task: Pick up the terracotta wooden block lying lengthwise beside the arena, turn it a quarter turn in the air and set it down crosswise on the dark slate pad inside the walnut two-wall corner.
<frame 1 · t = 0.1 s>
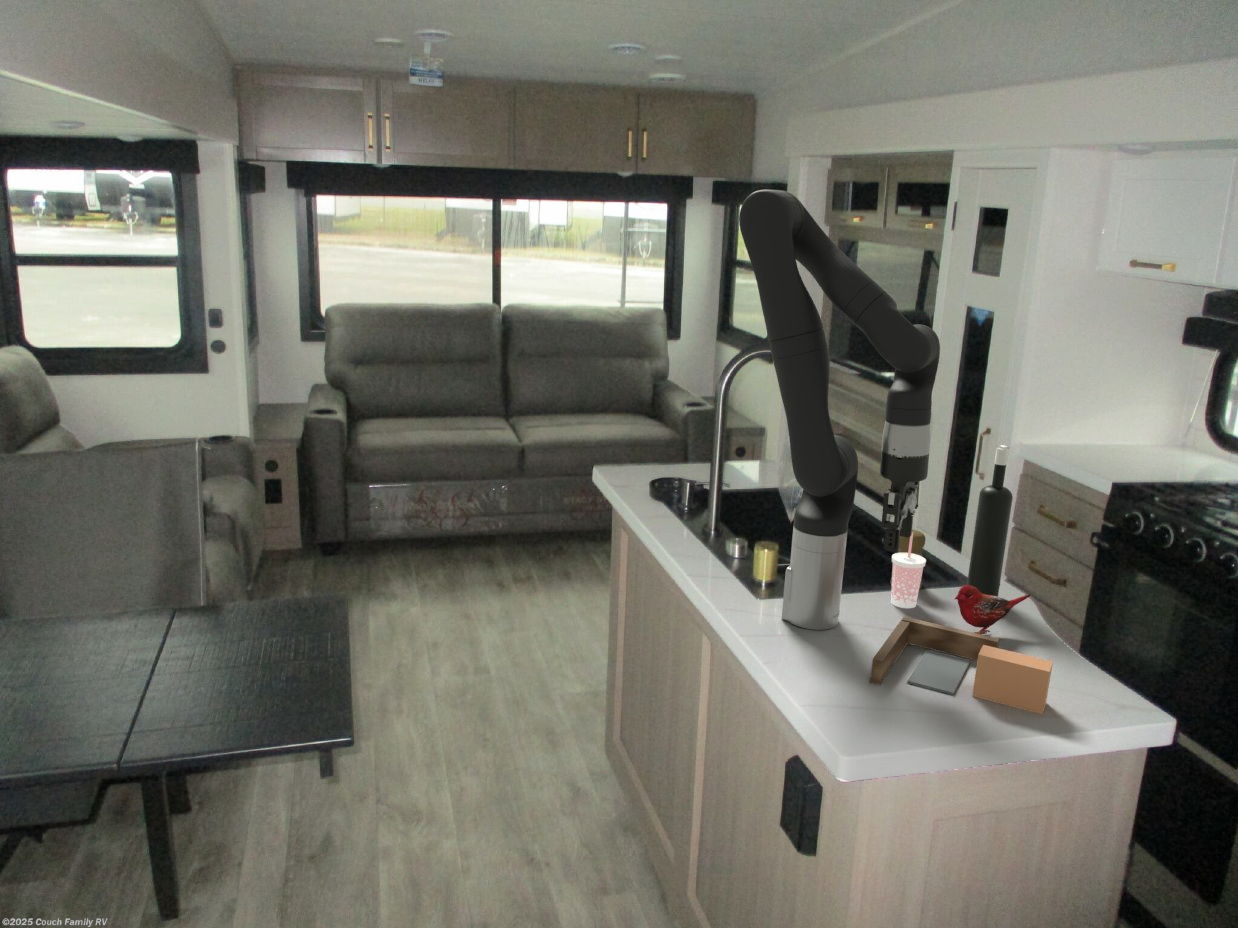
hand: (898, 543, 164), 17 cm above the worktop, tool pointing down, fingers open, 8 cm apart
beverage cup: (903, 604, 183), on the worktop
wine bottle: (981, 599, 187), on the worktop
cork: (905, 585, 193), on the worktop
terracotta block: (1008, 699, 149), on the worktop
decorative bird figurine: (987, 634, 172), on the worktop
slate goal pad: (939, 672, 157), on the worktop
walnut corner: (939, 672, 157), on the worktop
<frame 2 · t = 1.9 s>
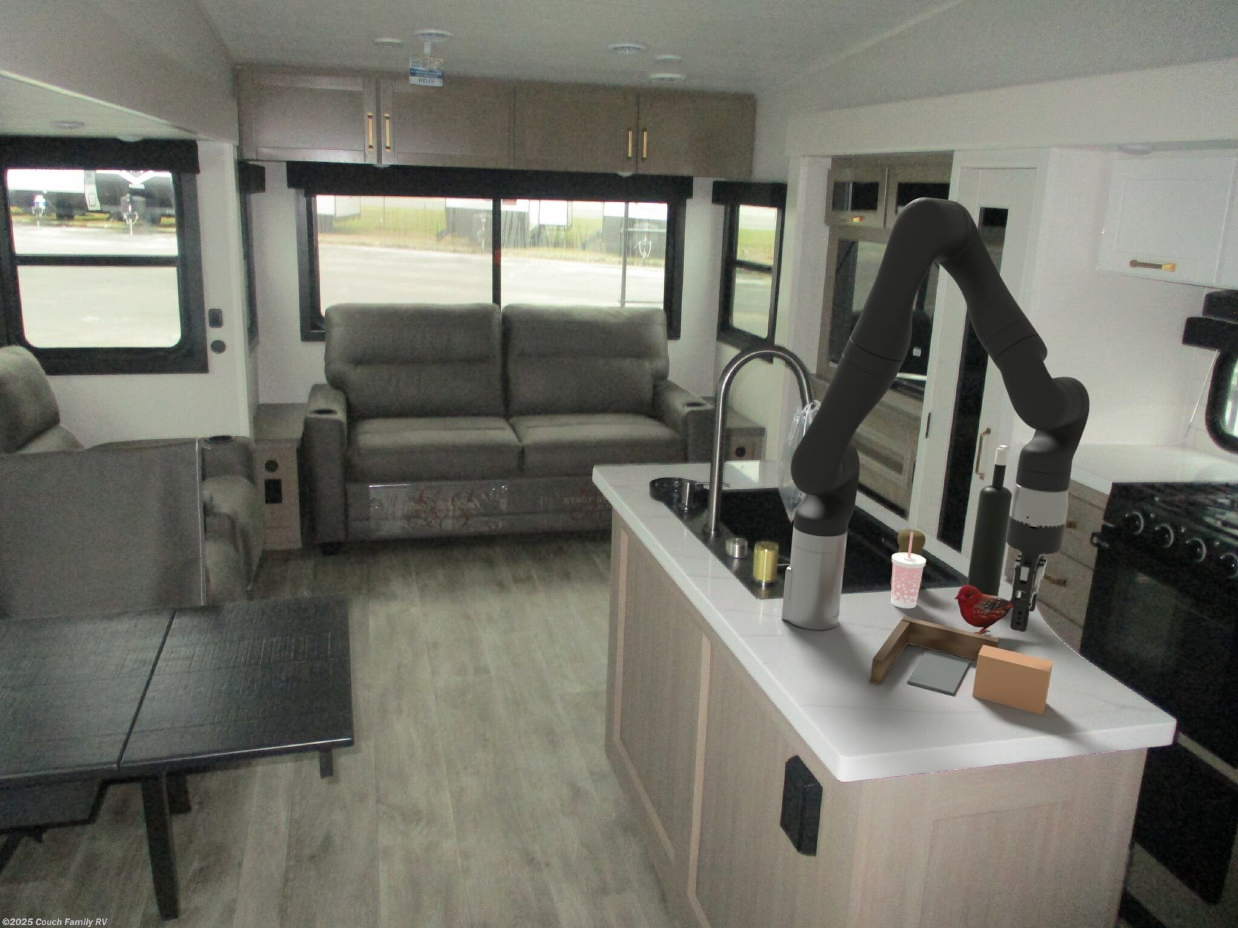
hand: (1022, 619, 145), 13 cm above the worktop, tool pointing down, fingers open, 8 cm apart
nothing on the worktop moved.
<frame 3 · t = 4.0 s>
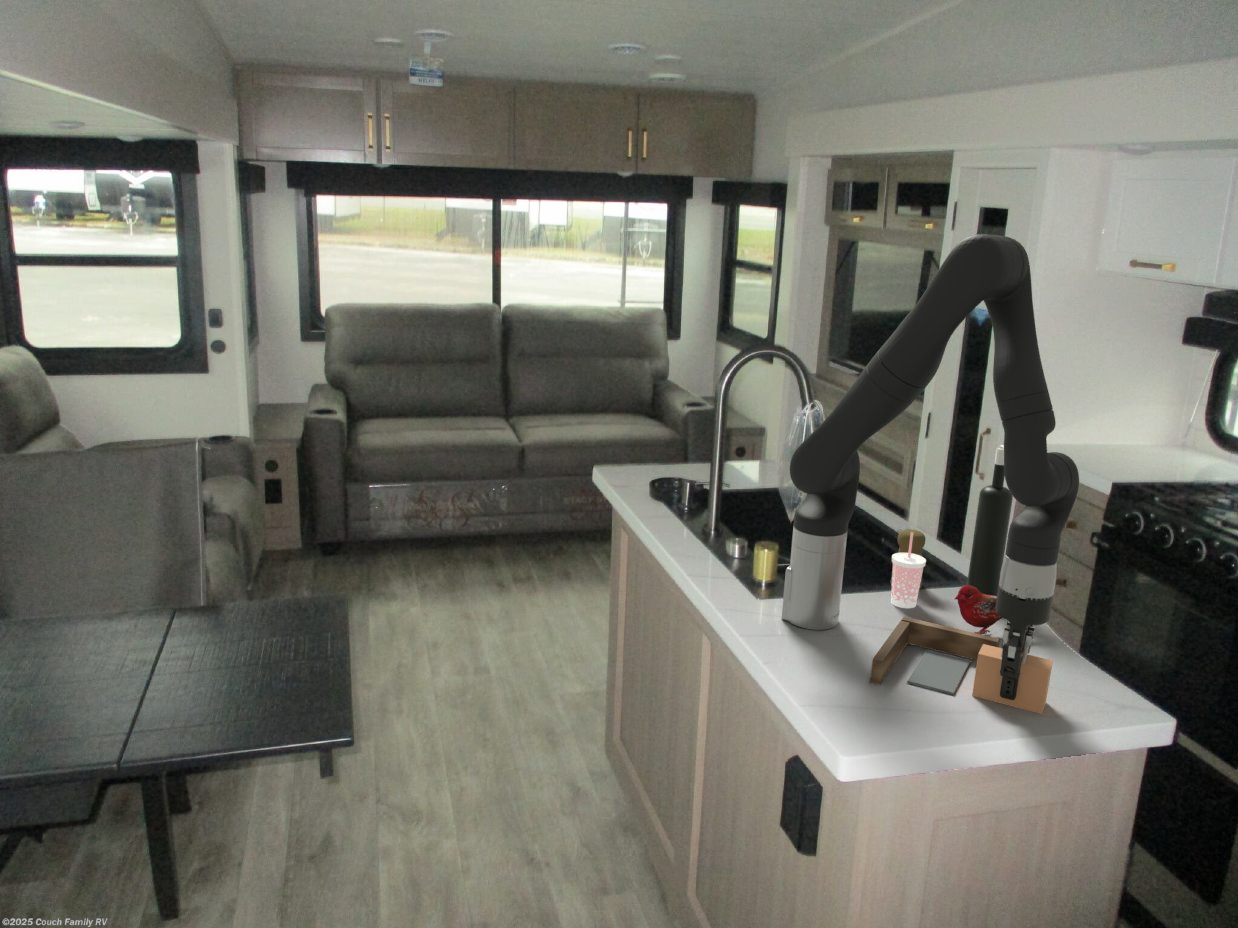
hand: (1009, 691, 149), 1 cm above the worktop, tool pointing down, fingers closed on terracotta block, 4 cm apart
terracotta block: (1008, 698, 149), on the worktop, touching gripper
everything else where it was.
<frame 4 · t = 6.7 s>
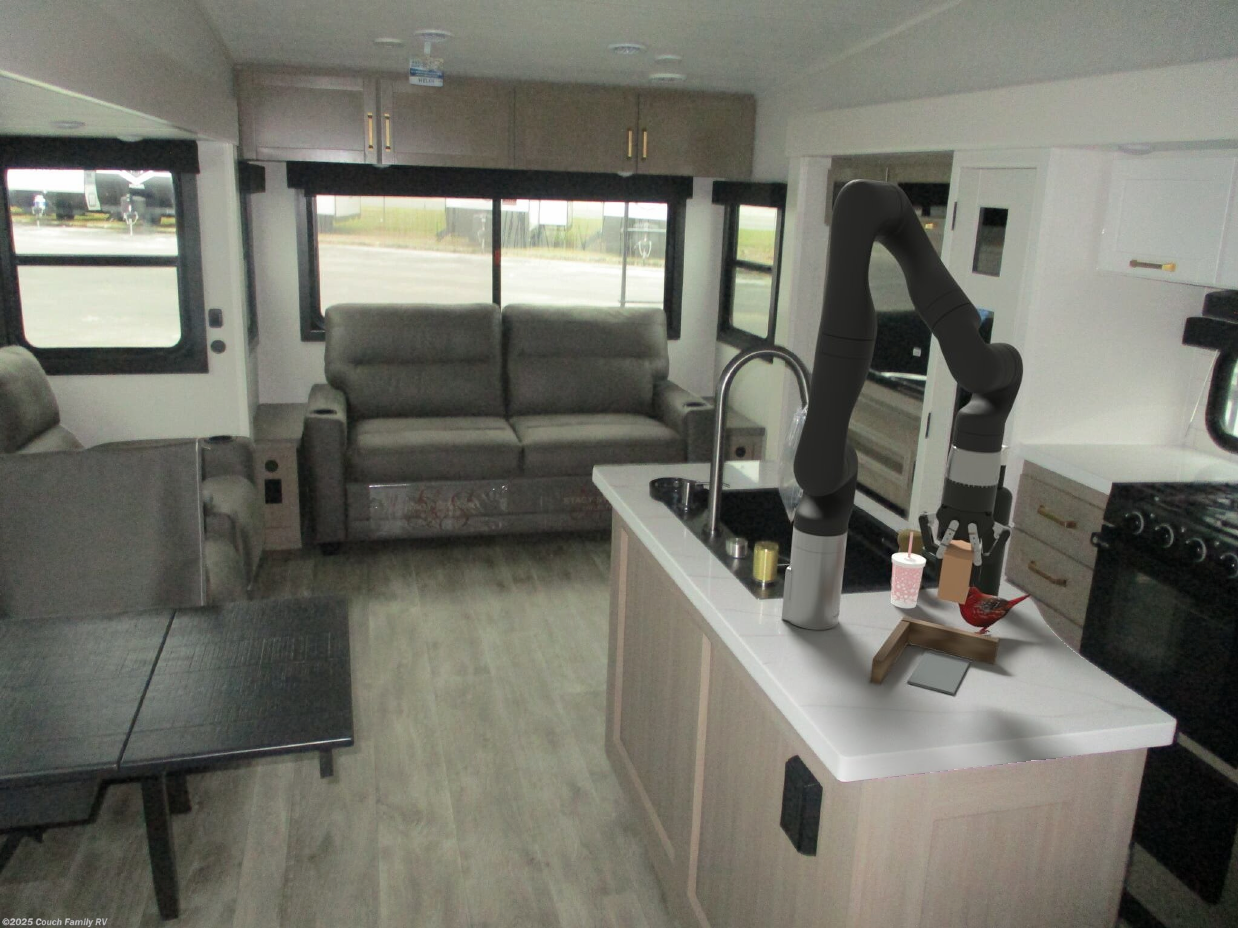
hand: (955, 581, 152), 16 cm above the worktop, tool pointing down, fingers closed on terracotta block, 4 cm apart
terracotta block: (954, 590, 152), point 14 cm above the worktop, touching gripper
everything else where it was.
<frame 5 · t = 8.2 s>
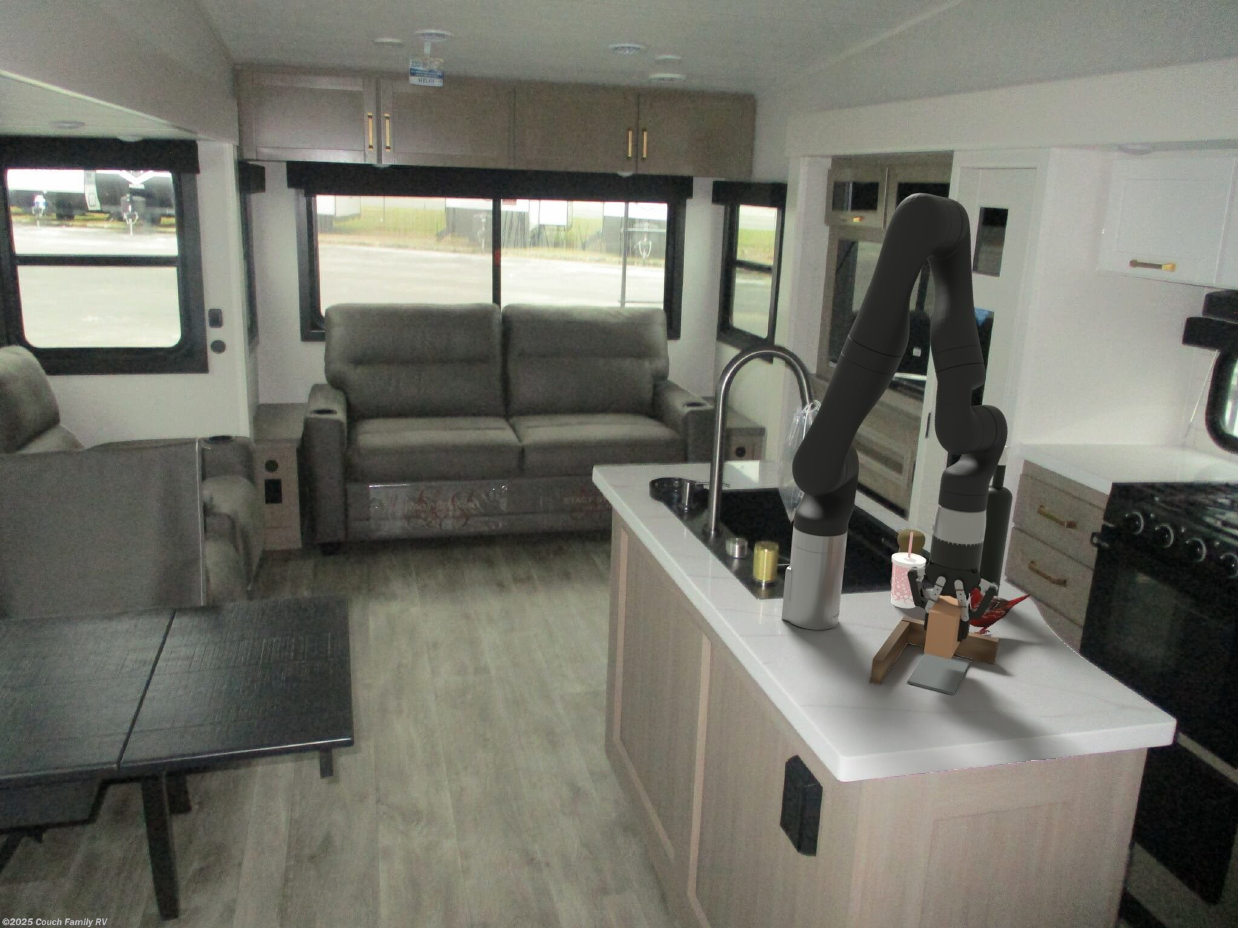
hand: (945, 636, 155), 6 cm above the worktop, tool pointing down, fingers closed on terracotta block, 4 cm apart
terracotta block: (944, 644, 155), point 5 cm above the worktop, touching gripper
everything else where it was.
when the fingers open (3 cm above the worktop, at t = 9.3 s): terracotta block stays where it is, resting on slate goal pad.
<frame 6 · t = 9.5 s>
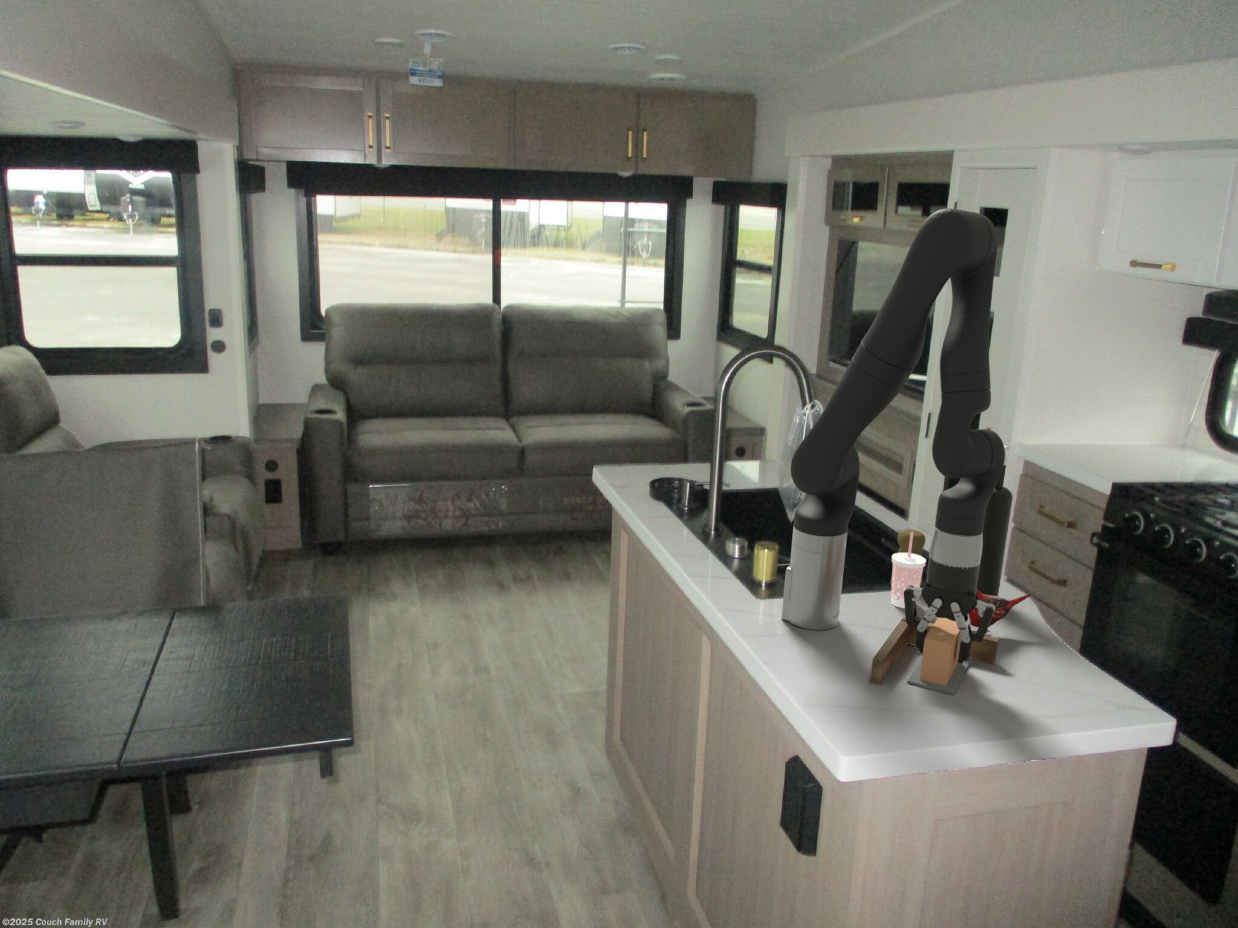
hand: (941, 656, 156), 3 cm above the worktop, tool pointing down, fingers open, 5 cm apart
terracotta block: (939, 670, 156), resting on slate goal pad
everything else where it was.
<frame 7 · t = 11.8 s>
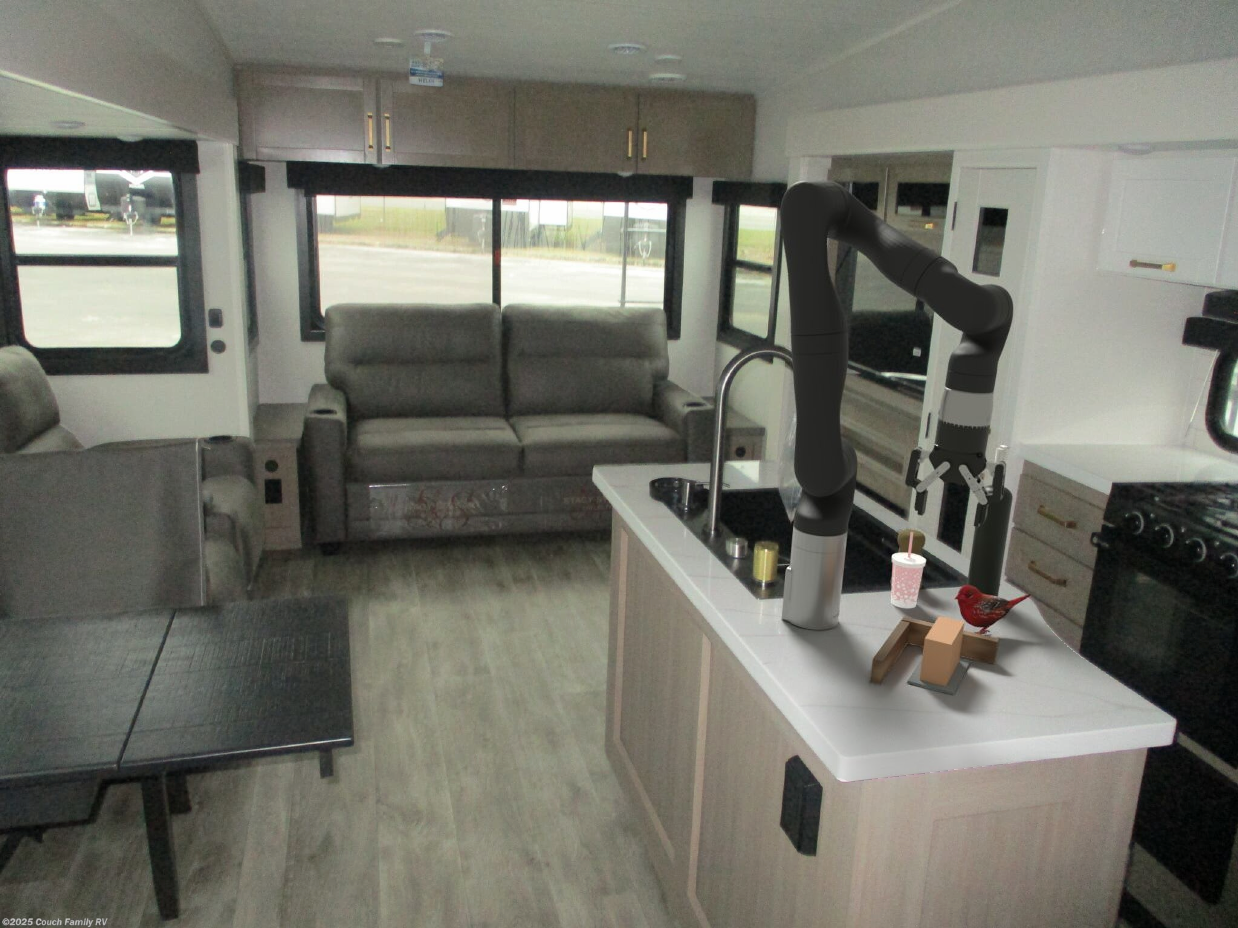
hand: (948, 519, 153), 25 cm above the worktop, tool pointing down, fingers open, 8 cm apart
nothing on the worktop moved.
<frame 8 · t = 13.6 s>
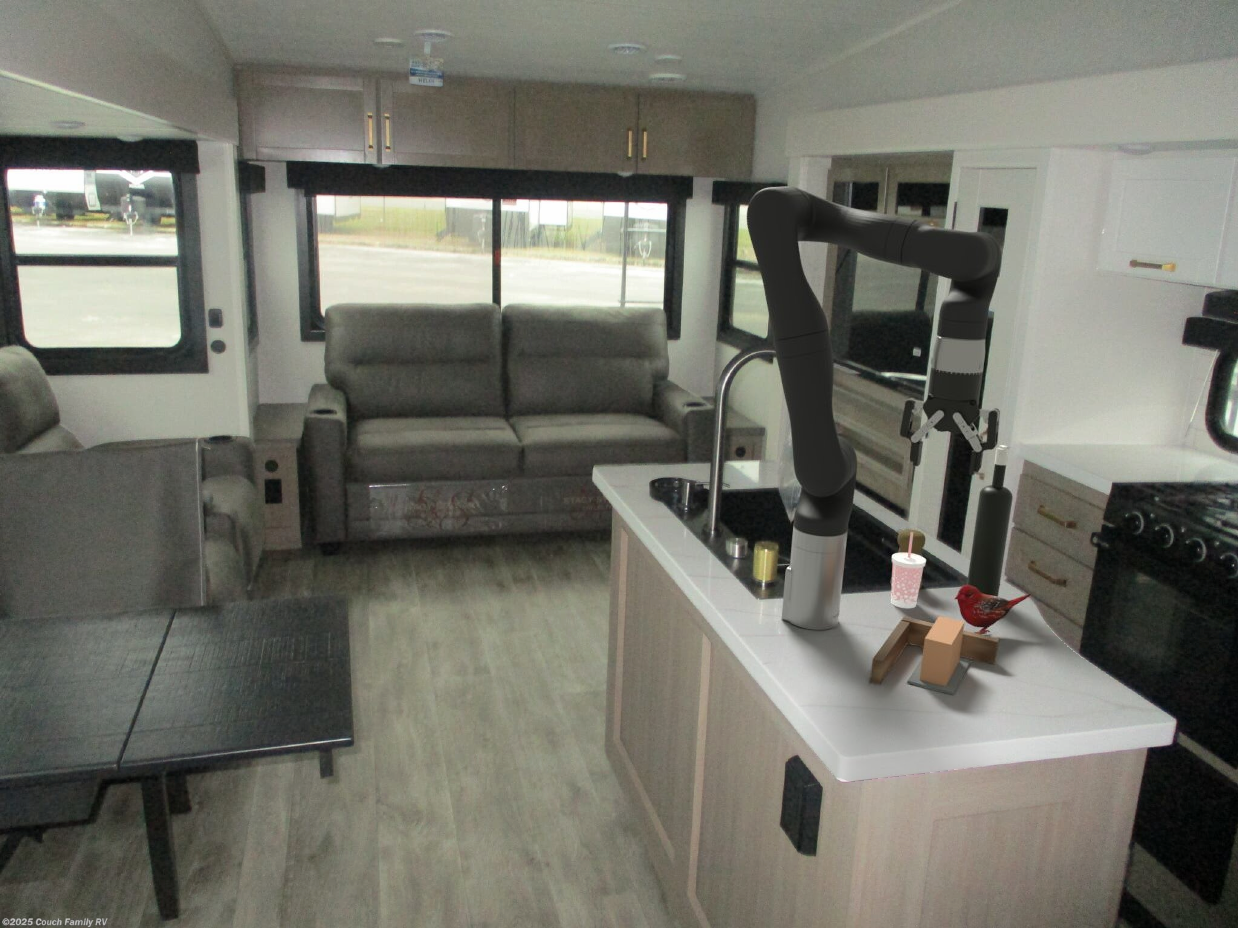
hand: (943, 469, 153), 32 cm above the worktop, tool pointing down, fingers open, 8 cm apart
nothing on the worktop moved.
at the end: terracotta block inside the target area (0.0 cm from its centre), resting on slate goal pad; terracotta block tilted 0°; the gripper is holding nothing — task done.
